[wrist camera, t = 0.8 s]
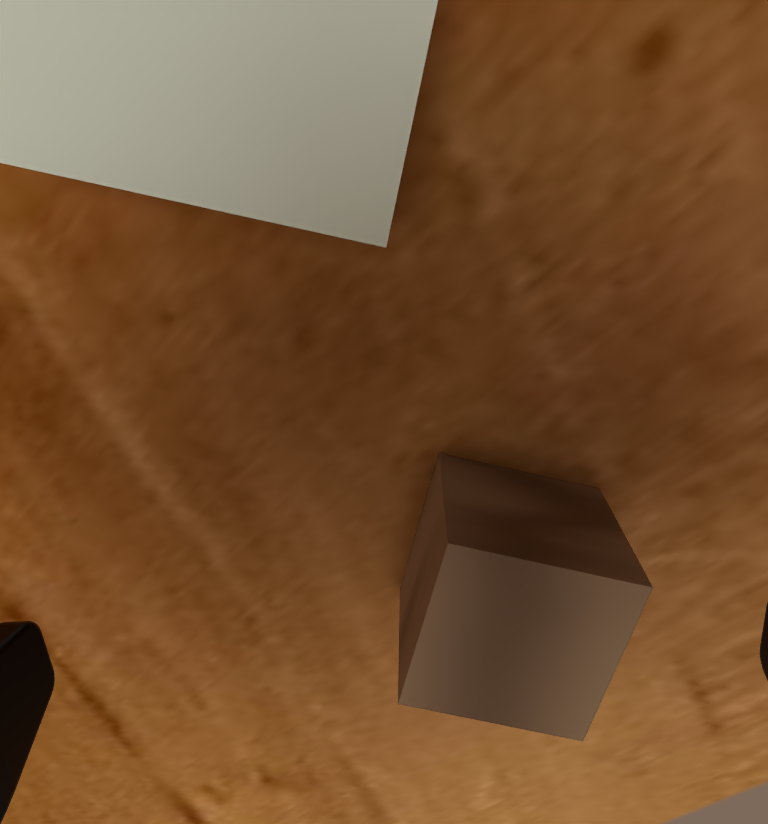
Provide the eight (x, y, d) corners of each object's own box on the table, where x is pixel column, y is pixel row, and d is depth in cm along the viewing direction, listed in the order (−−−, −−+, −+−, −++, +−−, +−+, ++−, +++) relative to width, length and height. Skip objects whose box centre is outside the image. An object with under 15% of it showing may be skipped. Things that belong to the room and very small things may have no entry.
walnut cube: (598, 487, 21) (652, 587, 16) (547, 618, 23) (583, 741, 18) (439, 451, 21) (448, 543, 16) (400, 586, 23) (397, 703, 18)
